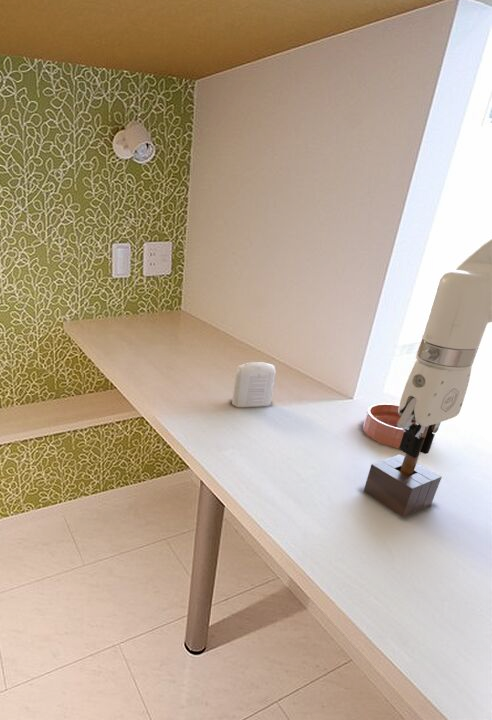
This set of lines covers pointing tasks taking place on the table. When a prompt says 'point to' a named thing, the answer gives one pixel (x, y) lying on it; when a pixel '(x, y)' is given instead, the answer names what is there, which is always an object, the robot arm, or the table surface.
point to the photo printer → (253, 384)
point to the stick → (411, 459)
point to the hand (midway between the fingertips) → (413, 451)
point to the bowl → (383, 424)
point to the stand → (401, 486)
